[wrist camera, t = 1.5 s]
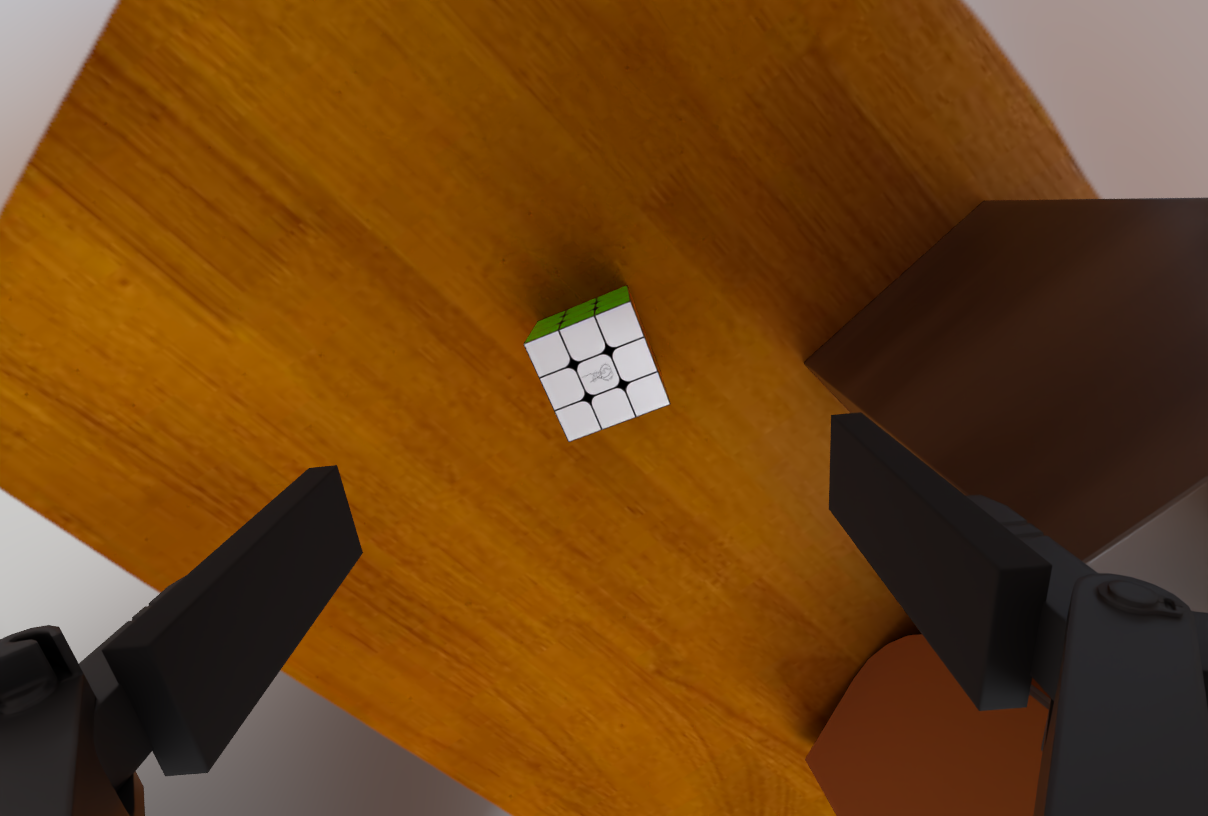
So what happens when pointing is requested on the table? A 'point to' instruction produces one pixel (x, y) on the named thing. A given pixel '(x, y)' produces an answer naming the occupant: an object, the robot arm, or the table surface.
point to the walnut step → (1055, 375)
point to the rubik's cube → (597, 364)
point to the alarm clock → (926, 743)
